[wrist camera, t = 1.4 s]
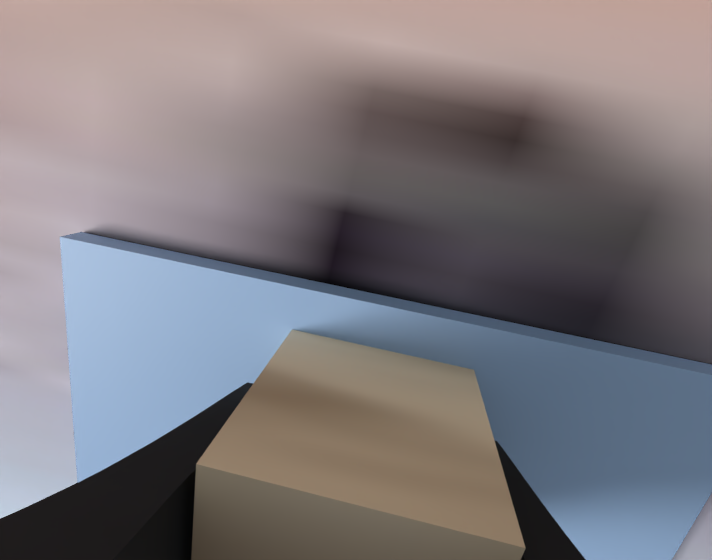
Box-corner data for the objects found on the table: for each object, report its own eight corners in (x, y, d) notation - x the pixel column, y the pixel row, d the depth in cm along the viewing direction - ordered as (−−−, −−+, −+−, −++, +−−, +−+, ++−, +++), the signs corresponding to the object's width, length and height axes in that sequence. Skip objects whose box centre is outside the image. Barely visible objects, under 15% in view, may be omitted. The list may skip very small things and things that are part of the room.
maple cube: (430, 511, 10) (441, 743, 6) (273, 471, 10) (185, 666, 6) (474, 369, 8) (525, 547, 4) (292, 329, 9) (195, 463, 5)
